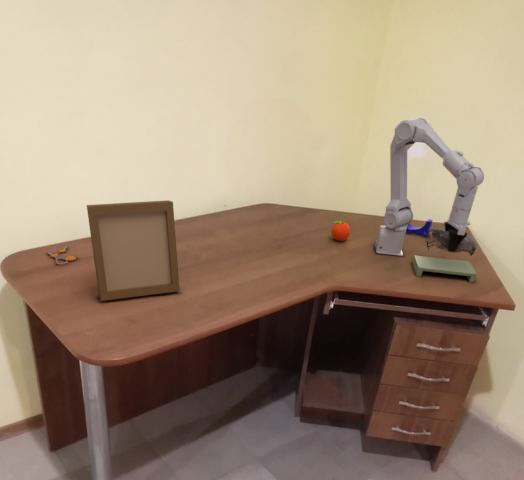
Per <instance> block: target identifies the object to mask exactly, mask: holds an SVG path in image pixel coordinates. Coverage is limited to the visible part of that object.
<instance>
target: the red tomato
mask: <svg viewBox="0 0 524 480" xmlns="http://www.w3.org/2000/svg"><path fill="white" fill-rule="evenodd" d="M333 224H334V225H333V226H332V227H331V225H329V226H328V227H331V236H332V237H333V239H334V240H335V241H340V242H344V241H346V240H347V239H348V238H349V237H350V235H351V227H350V225H349V224H348V223H347V222H346V221H340V220H339V221H334V222H333Z"/></svg>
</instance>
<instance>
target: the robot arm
mask: <svg viewBox="0 0 524 480" xmlns="http://www.w3.org/2000/svg"><path fill="white" fill-rule="evenodd" d="M416 143H423V144H425V145H426V146H428V147H429V149H430V150H432V151H433V152H434V153H435V154H437V155H438V156H439V157H440V158H441V159H442V165H443V167H444V168H445V169H446V171H448V172H449V173H450V174H451V175H452V177H454V178H455V179H456V185H457V189H456V192H455V196H454V200H453V203H452V207H451V209H450V212H449V216H448V218H447V221H444V222H443V226H444V231H449V246H448V251H449V252H448V251H447V252H448V253H454V252H455V251H456V249H457V248H458V246H459V244H460V243H461V241H462V240H463V239H464V238H465V237H468V233H467V229H466V228H467V227H468V226H471V221H469V218H470V214H471V211H472V208H473V204H474V201H475V198H476V196H477V195H476V194H477V191H478V188H479V186H481V184H482V183H483V181H484V179H485V174H484V171H483V170H482V168H481V167H479V166H474V165H475V164H473V162H470V161H469V160H468V159H467V158H466V157H465V156H464V152H463V151H462V150H460V151H459V150H457V149H455V150H454V149H453V150H452V149H451V148H450V147H449V145H447V144H446V143H445V141H444V140H443V139H442V137H440V135H439V134H438V133H437V132H436V131H435V129H434V128H433V125H432V124H431V123H429V122H428V121H427V120H426V119H425V118H422V117H419V118H415V119H405V120H401V121H400V122H399V123H398V124H397V125H396V127H394V134H393V137H392V140H391V143H390V146H389V147H390V148H389V149H390V151H389V152H390V153H389V154H390V155H389V156H390V159H389V160H390V161H389V163H390V166H389V167H390V168H389V169H390V170H389V171H390V201H389V202H388V204H387V205H386V206H385V213H384V216H383V224H384V225H379V227H378V230H377V235H376V238H375V243H374V247H375V252H376V254H380V255H391V256H397V257H398V256H399V257H403V256H404V253H403V245H404V240H405V236H406V234H407V233H406V229H407V226H408V224H411V222H412V221H413V220H414V212H413V210H412V203H411V202H410V201H409V199H408V151H409V149H410V148H411V147H412V146H413V145H415V144H416Z"/></svg>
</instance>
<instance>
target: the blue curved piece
mask: <svg viewBox="0 0 524 480" xmlns="http://www.w3.org/2000/svg"><path fill="white" fill-rule="evenodd" d="M432 224H433V219H430V218H429V219H427V220H426V221H425V224H424V225H423V226H420V227H416V226H413V225H412V224H411V223H409V224H408V226H407V229H406V233H405V234H410V235H411V234H414V235H419V236H421V237H425V238H427V237H428V236H429V235H430V233H431V232H430V231H431V230H430V231H429V228H430V227H431V228H432Z"/></svg>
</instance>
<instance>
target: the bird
mask: <svg viewBox="0 0 524 480" xmlns="http://www.w3.org/2000/svg"><path fill="white" fill-rule="evenodd" d="M429 231H430V232H429V233H431V239H432V241H429V242H428V240H427V238H426V248H427V252H429V250H430V247H433V246H435V247H436V248H437V249H439V250H442V251H444V252H448V253H450V252H449V251H448V246H449V231H445V230H442V229H439V228H434V227H432V226H431V227H430V228H429ZM429 244H431V245H429ZM477 247H478V244H477V241H476V240H475V239H474V238H473V237H470V236H466V237H465V238H464V239H463V240H462V241H461V243H460V244H459V246H458V248H457V249H456V251H455V252H453V253H461V252H462V253H463V252H465V253H469V255H470V257H472V256H473V255H474V254H475V252H476V250H477Z"/></svg>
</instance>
